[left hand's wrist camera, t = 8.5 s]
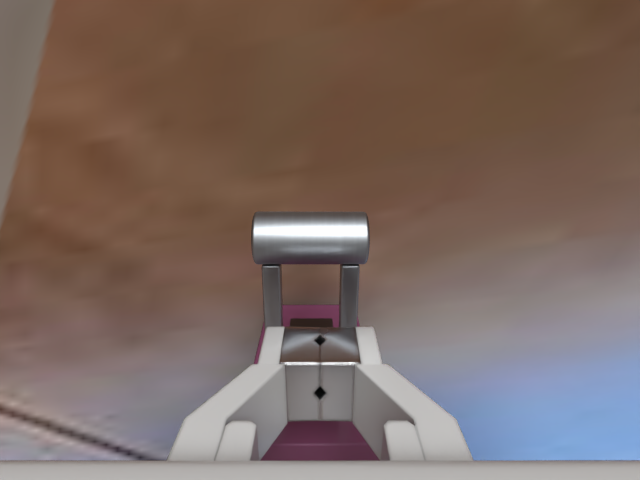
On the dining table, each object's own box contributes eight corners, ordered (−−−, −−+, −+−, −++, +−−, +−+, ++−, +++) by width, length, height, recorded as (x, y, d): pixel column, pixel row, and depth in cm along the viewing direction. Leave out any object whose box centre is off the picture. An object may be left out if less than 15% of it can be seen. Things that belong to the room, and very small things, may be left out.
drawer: (262, 182, 17) (215, 243, 9) (360, 182, 17) (403, 243, 9) (276, 517, 24) (258, 725, 16) (346, 516, 24) (363, 722, 16)
